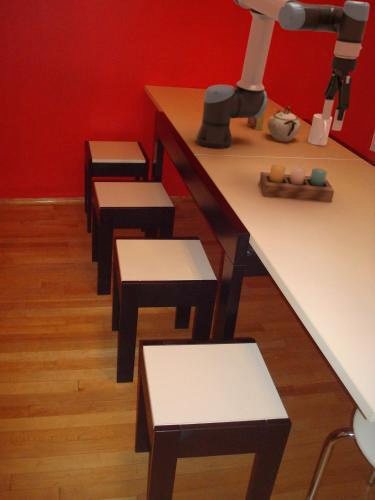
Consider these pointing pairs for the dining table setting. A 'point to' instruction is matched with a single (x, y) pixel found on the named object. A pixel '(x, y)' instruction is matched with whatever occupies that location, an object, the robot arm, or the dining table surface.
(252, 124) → the candy box
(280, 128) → the sugar bowl
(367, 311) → the dining table surface
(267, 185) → the wooden compartment tray
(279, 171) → the orange rounded ball
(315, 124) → the mug
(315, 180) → the teal egg
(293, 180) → the pink round piece
